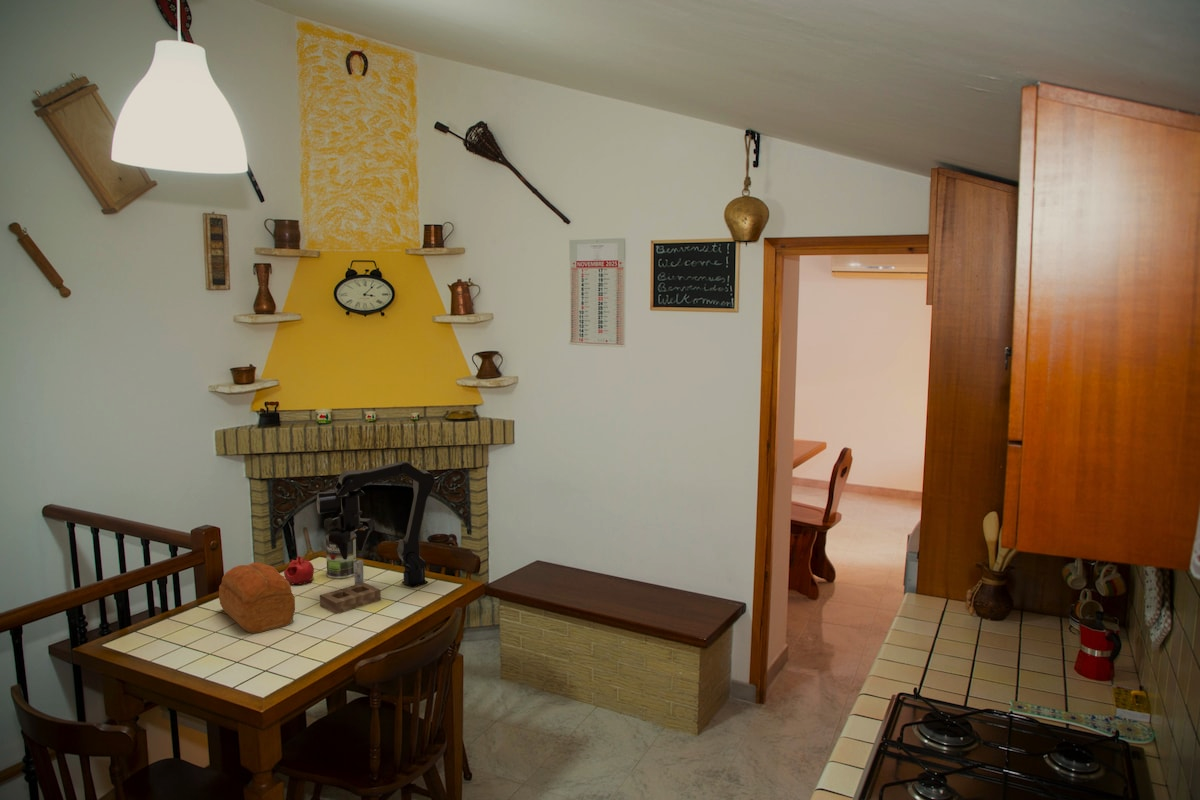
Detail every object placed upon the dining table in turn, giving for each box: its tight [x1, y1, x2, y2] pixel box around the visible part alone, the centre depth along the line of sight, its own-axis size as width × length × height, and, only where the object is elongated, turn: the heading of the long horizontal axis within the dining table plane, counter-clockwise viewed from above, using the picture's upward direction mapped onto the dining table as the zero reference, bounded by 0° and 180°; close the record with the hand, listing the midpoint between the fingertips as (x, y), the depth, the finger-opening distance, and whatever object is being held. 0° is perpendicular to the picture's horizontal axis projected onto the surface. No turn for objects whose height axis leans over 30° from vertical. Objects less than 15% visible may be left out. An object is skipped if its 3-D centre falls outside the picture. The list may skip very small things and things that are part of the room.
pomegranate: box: [283, 555, 315, 585], centre depth 284 cm, size 10×10×9 cm
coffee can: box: [325, 532, 357, 579], centre depth 291 cm, size 10×10×14 cm
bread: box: [218, 562, 296, 634], centre depth 252 cm, size 16×27×16 cm, turn 41°
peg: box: [353, 559, 365, 585], centre depth 279 cm, size 3×3×9 cm
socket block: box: [319, 582, 382, 614], centre depth 265 cm, size 16×10×4 cm, turn 138°
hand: (352, 554), depth 272 cm, fingers open, 9 cm apart
